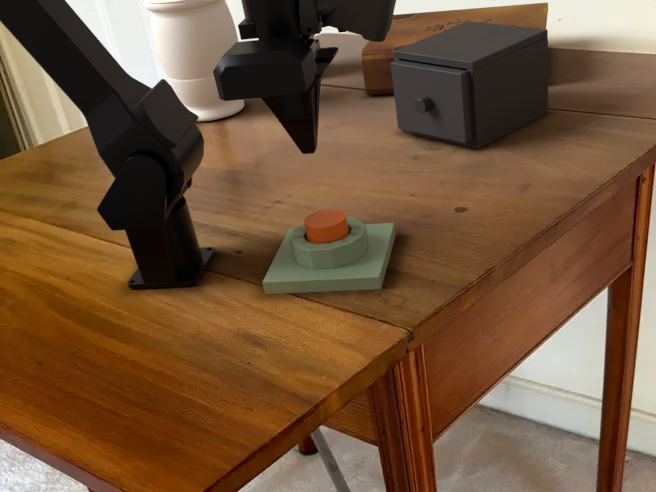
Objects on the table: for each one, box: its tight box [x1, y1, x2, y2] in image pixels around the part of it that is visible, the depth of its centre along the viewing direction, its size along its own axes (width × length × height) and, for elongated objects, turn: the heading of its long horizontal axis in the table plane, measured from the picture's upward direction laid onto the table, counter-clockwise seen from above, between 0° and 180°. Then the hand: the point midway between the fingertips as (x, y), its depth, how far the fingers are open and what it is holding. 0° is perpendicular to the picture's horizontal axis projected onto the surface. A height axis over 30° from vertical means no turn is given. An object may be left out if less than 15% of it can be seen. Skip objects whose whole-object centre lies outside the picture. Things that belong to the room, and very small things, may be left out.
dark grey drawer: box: [391, 60, 473, 144], centre depth 92 cm, size 13×10×7 cm
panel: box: [262, 215, 397, 295], centre depth 72 cm, size 10×10×3 cm
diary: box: [361, 2, 549, 96], centre depth 111 cm, size 23×19×6 cm
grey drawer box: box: [394, 21, 549, 150], centre depth 93 cm, size 13×12×9 cm
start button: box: [303, 208, 349, 244], centre depth 70 cm, size 4×4×2 cm
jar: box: [142, 0, 246, 122], centre depth 107 cm, size 11×10×15 cm
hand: (309, 152), depth 67 cm, fingers closed
